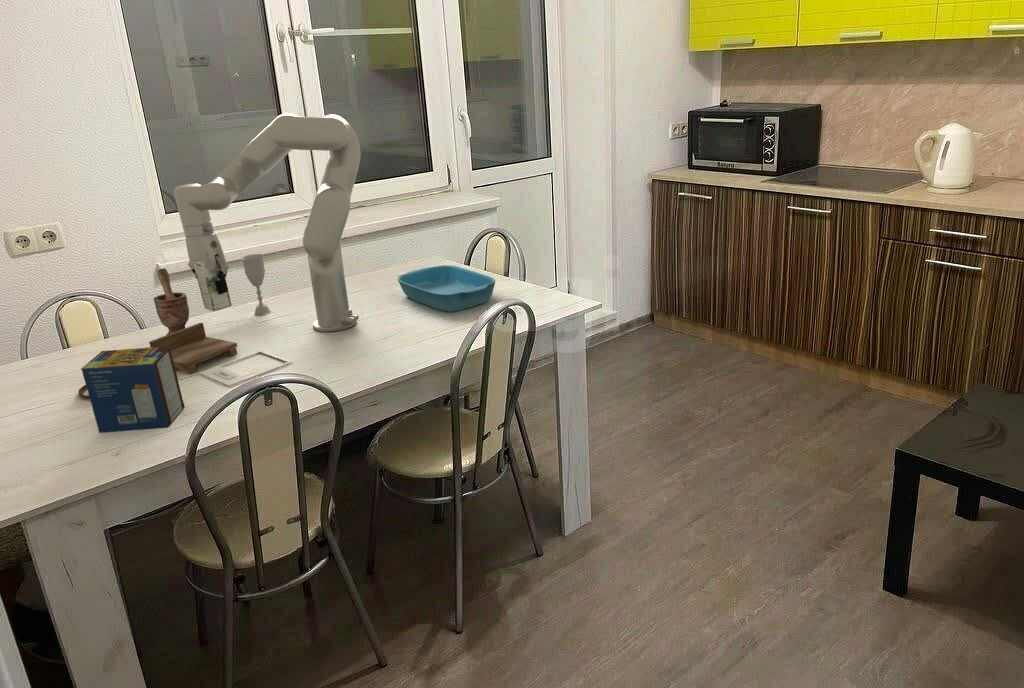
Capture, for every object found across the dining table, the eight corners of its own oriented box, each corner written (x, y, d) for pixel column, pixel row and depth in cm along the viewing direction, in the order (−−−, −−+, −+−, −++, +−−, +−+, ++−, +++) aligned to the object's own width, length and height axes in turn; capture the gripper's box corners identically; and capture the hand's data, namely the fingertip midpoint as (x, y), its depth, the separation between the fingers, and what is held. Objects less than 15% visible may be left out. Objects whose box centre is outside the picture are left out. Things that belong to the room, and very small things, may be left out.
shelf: (238, 353, 208) (234, 329, 206) (189, 374, 195) (183, 349, 193) (205, 345, 215) (200, 322, 213) (155, 366, 202) (149, 341, 200)
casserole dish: (388, 295, 252) (385, 274, 249) (445, 280, 264) (443, 260, 261) (449, 321, 224) (447, 297, 221) (509, 303, 236) (508, 281, 234)
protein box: (118, 412, 176) (101, 350, 171) (185, 407, 177) (170, 345, 171) (97, 433, 167) (79, 368, 161) (169, 428, 167) (153, 362, 161)
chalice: (269, 315, 238) (259, 259, 231) (248, 316, 238) (237, 260, 231) (276, 308, 244) (267, 253, 238) (255, 309, 245) (245, 254, 238)
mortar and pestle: (153, 339, 223) (137, 273, 216) (180, 330, 229) (166, 265, 222) (172, 346, 216) (156, 278, 209) (200, 337, 222) (186, 271, 215)
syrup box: (223, 302, 221) (211, 254, 216) (232, 306, 217) (220, 256, 212) (204, 308, 217) (191, 259, 212) (213, 312, 213) (200, 262, 208)
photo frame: (198, 371, 195) (260, 349, 208) (199, 375, 196) (261, 353, 208) (228, 384, 186) (291, 360, 199) (229, 388, 186) (292, 364, 199)
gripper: (230, 227, 207) (245, 290, 214) (190, 225, 216) (205, 285, 223) (207, 234, 202) (224, 298, 208) (167, 232, 210) (184, 293, 217)
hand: (214, 291), depth 215 cm, fingers closed on syrup box, 6 cm apart
